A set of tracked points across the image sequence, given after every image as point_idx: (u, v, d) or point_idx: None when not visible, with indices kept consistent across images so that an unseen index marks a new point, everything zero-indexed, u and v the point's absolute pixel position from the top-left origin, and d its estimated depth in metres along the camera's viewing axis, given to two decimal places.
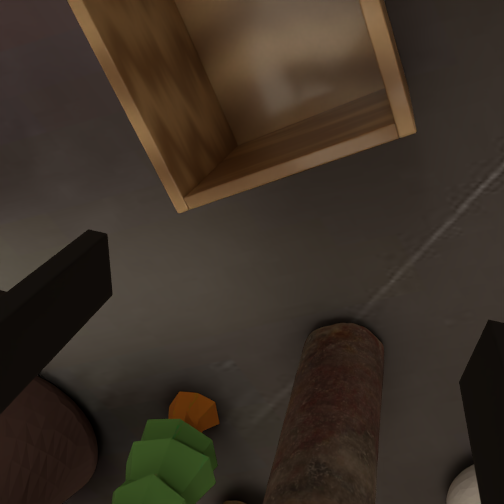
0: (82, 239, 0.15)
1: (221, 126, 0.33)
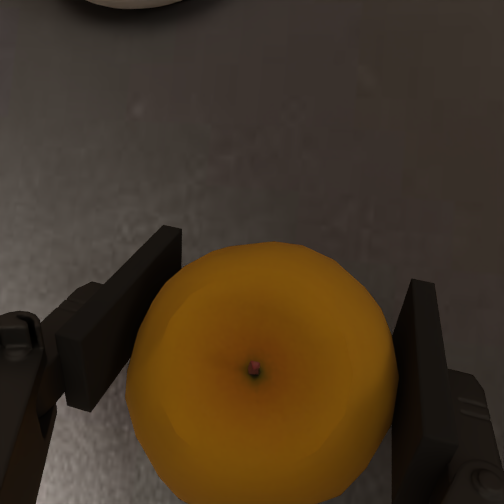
0: (160, 234, 0.16)
1: None
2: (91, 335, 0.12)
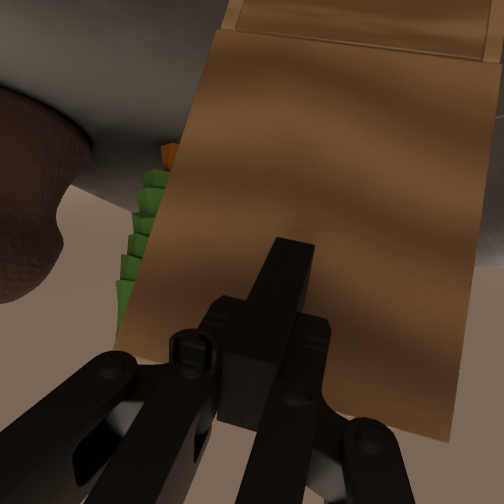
0: (278, 245, 0.16)
1: None
2: None
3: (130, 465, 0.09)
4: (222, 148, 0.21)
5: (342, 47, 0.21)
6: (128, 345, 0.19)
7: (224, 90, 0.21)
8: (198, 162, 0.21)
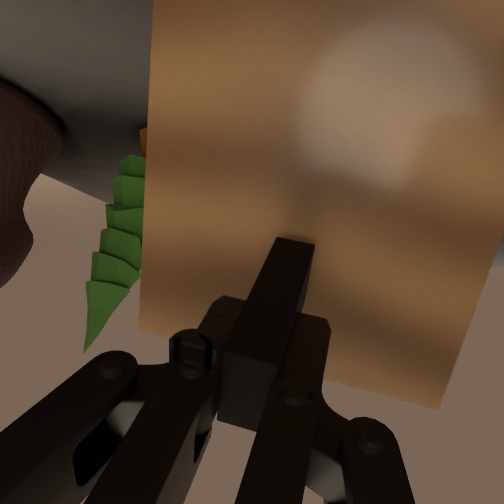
0: (278, 246, 0.16)
1: None
2: None
3: (130, 465, 0.09)
4: (199, 118, 0.17)
5: None
6: (150, 326, 0.21)
7: (186, 27, 0.16)
8: (174, 138, 0.17)
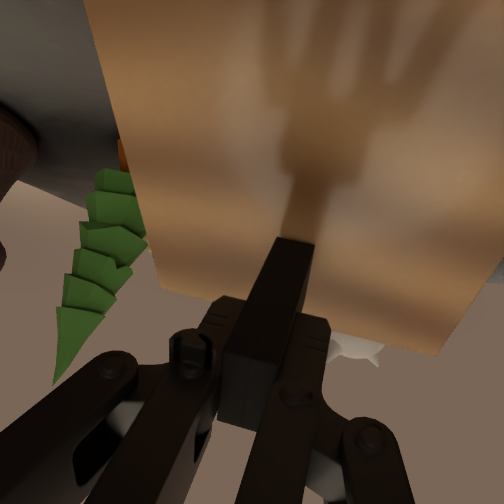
0: (278, 245, 0.16)
1: None
2: None
3: (130, 465, 0.09)
4: (172, 130, 0.15)
5: None
6: (171, 287, 0.22)
7: (132, 34, 0.13)
8: (151, 148, 0.16)
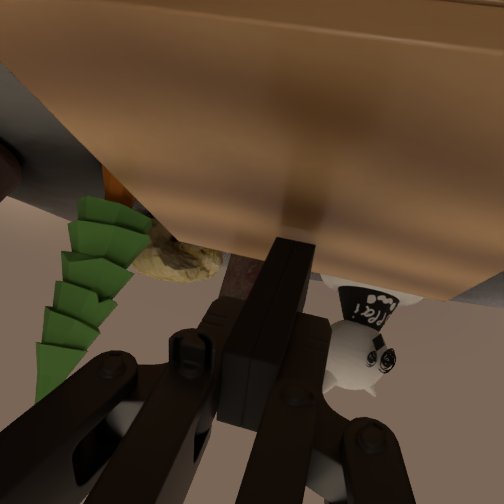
0: (278, 245, 0.16)
1: None
2: None
3: (130, 465, 0.09)
4: (150, 163, 0.14)
5: (266, 34, 0.07)
6: (187, 241, 0.23)
7: (79, 102, 0.11)
8: (133, 171, 0.15)
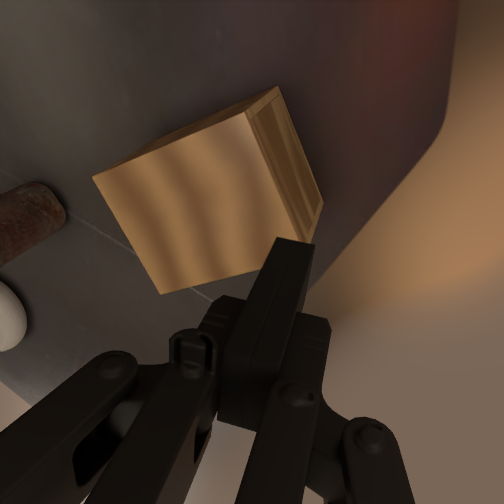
0: (278, 246, 0.16)
1: None
2: None
3: (130, 465, 0.09)
4: (189, 163, 0.38)
5: (273, 186, 0.37)
6: (97, 181, 0.42)
7: (214, 142, 0.37)
8: (175, 156, 0.38)
